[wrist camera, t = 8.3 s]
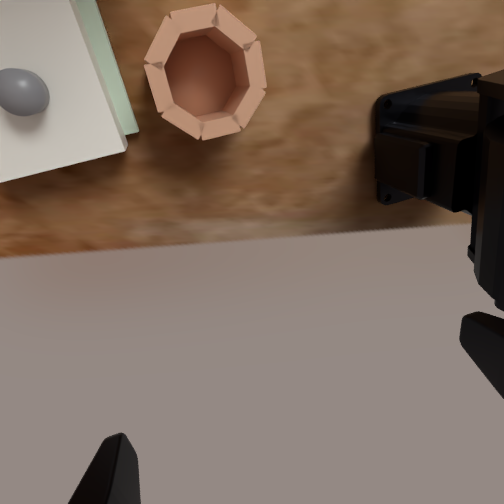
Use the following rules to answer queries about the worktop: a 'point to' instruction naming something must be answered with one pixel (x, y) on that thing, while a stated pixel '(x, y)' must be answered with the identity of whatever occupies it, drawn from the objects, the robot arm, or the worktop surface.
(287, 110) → the worktop surface
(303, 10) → the worktop surface
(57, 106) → the cover
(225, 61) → the bowl
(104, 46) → the mat
